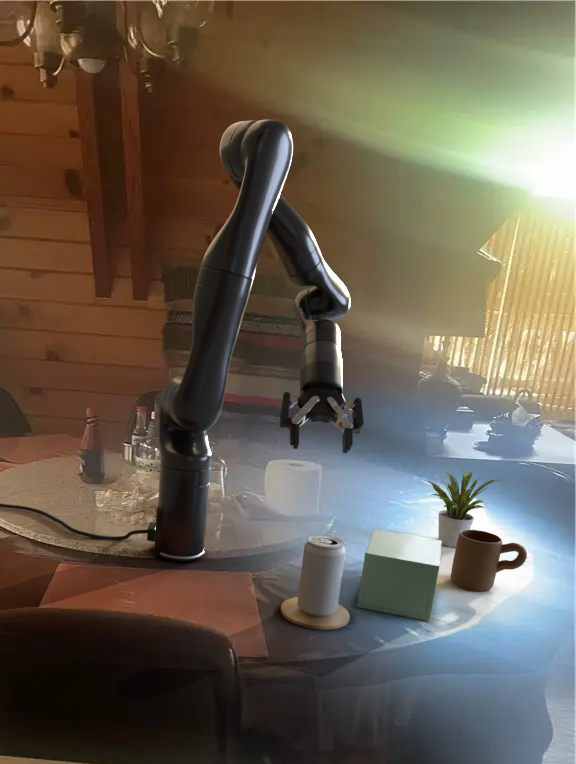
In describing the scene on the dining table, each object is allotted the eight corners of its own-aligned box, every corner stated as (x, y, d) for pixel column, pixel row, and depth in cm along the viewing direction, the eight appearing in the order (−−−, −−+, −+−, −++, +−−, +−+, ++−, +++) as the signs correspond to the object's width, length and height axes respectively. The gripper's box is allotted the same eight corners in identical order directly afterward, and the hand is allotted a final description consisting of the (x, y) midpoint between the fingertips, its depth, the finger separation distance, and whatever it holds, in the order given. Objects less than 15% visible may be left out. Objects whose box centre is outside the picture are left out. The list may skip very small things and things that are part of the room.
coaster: (283, 626, 116) (283, 623, 116) (278, 597, 127) (278, 593, 126) (354, 632, 116) (355, 629, 116) (343, 602, 126) (344, 599, 126)
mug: (517, 585, 140) (527, 537, 137) (520, 600, 133) (531, 550, 130) (449, 573, 143) (458, 526, 140) (449, 587, 136) (458, 538, 133)
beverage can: (336, 621, 118) (346, 549, 114) (295, 615, 119) (304, 544, 115) (337, 605, 124) (347, 536, 120) (297, 599, 125) (306, 531, 121)
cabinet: (366, 578, 138) (374, 528, 135) (432, 591, 134) (441, 540, 131) (356, 606, 125) (365, 552, 122) (429, 621, 122) (439, 566, 119)
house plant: (475, 533, 168) (490, 462, 163) (502, 556, 155) (518, 479, 150) (412, 529, 167) (425, 458, 162) (433, 552, 154) (448, 474, 149)
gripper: (284, 356, 133) (282, 433, 126) (365, 362, 133) (368, 440, 126) (279, 382, 140) (276, 456, 132) (356, 388, 140) (357, 463, 132)
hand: (321, 448), depth 129 cm, fingers open, 8 cm apart
